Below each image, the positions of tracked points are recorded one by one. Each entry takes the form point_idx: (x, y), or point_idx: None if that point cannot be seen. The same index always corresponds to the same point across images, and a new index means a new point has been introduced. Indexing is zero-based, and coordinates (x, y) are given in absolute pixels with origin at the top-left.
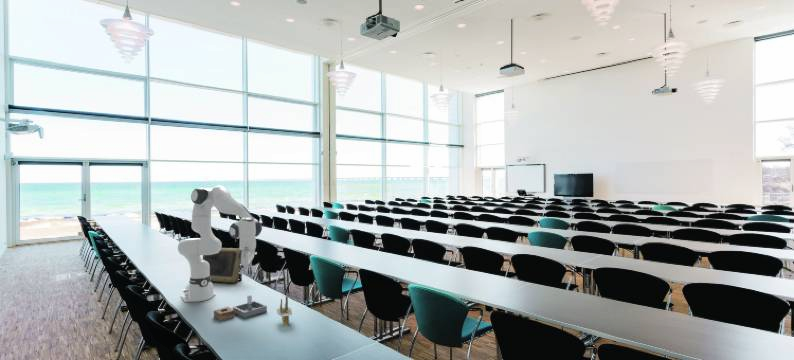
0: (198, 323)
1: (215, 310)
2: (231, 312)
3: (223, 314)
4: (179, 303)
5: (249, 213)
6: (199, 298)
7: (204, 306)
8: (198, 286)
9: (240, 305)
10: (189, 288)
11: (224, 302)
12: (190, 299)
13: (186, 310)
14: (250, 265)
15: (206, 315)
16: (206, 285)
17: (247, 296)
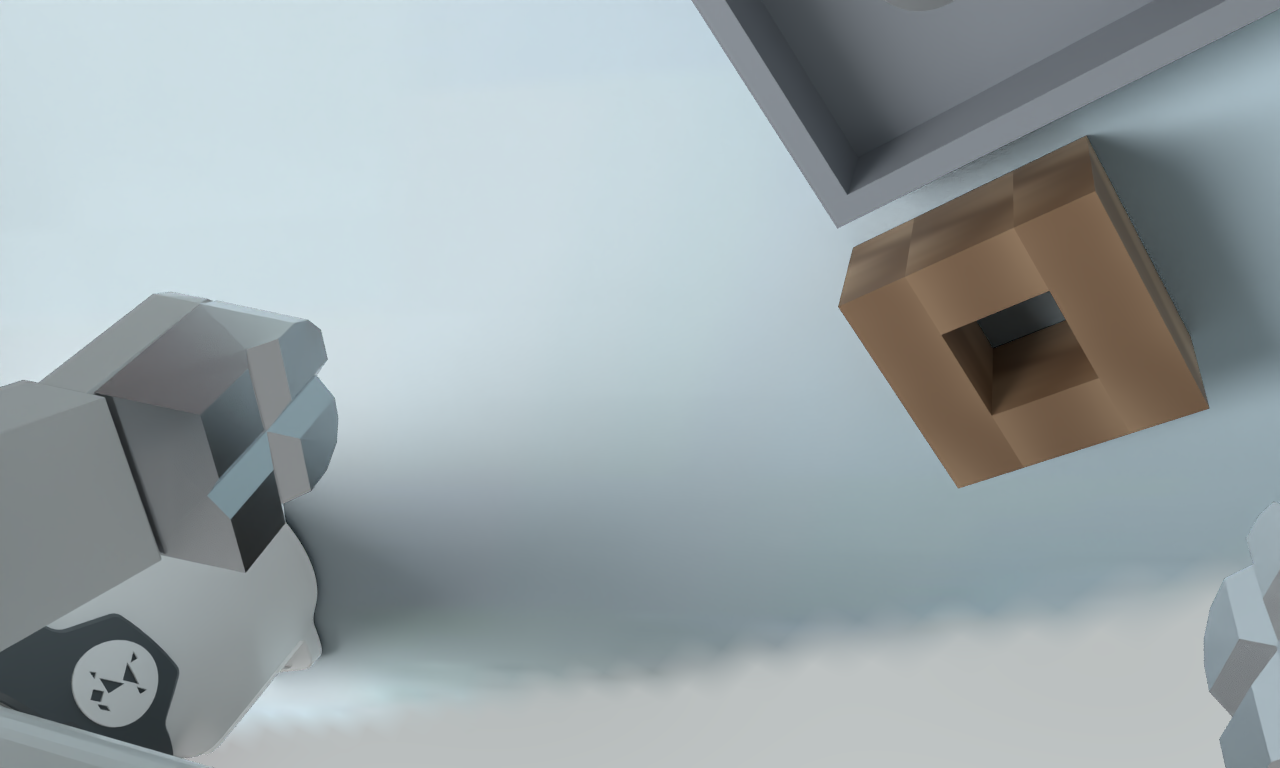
0: (1115, 570)
1: (962, 468)
2: (1122, 229)
3: (1184, 351)
4: (354, 688)
5: None
6: (282, 577)
7: (472, 511)
8: (180, 698)
9: (787, 94)
10: (213, 745)
11: (341, 311)
12: (298, 638)
13: (577, 651)
14: (249, 397)
15: (823, 494)
16: (121, 625)
17: (939, 4)
